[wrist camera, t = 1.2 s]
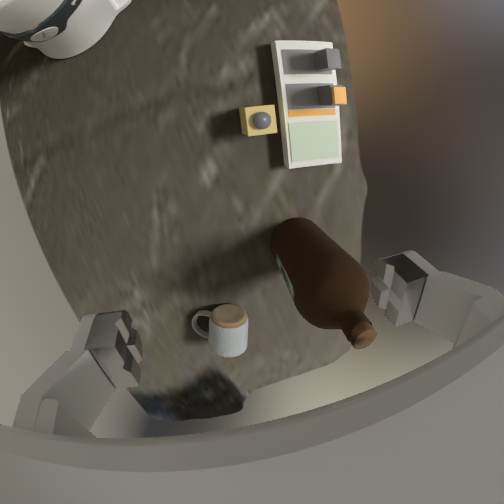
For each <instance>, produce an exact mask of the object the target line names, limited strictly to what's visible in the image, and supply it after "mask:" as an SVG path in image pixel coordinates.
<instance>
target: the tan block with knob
mask: <svg viewBox="0 0 504 504" xmlns="http://www.w3.org/2000/svg"><path fill="white" fill-rule="evenodd" d="M239 113H240V120H241V128H242V134H244V135H247V136H255V135H263V134H271V133H277V125H276V116H275V107H274V105H261V106H252V107H243V108H239Z"/></svg>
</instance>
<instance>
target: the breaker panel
mask: <svg viewBox="0 0 504 504" xmlns="http://www.w3.org/2000/svg"><path fill="white" fill-rule="evenodd" d="M325 48H332V49H333V46H332V42H318V41H274V42H273V43H271V50H272V58H273V66H274V74H275V82H276V90H277V99H278V108H279V117H280V127H281V137H282V147H283V158H284V166H286V167H287V168H289V169H291V168H299V167H307V166H315V165H324V164H333V163H342V158H341V133H340V116H339V106H325V105H320V103H319V92H318V86H325V85H337V80H336V70H331V71H316V64H315V56H314V52H316V51H319V50H322V49H325Z"/></svg>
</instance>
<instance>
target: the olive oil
mask: <svg viewBox="0 0 504 504" xmlns="http://www.w3.org/2000/svg"><path fill="white" fill-rule="evenodd" d="M271 251H272V254H273V256H274V258H275V260H276V262H277V264H278V267H279V269H280V271H281V273H282V275H283V278H284V280H285V282H286V284H287V287H288V289H289V292H290V294H291V296H292V299H293V301H294V304H295V306H296V308H297V310H298V311H299V313H300V314H301V315H302V317H303V318H305V319H306V320H307V321H308V322H309V323H311V324H312V325H314V326H316V327H319V328H323V329H342V331H343V332H344V334H345V336H346V338H347V340H348V341H350V342H351V344H352V346H353V347H354V348H355V349H362V348H365V347H366V346H368V345H370V344H371V343H372V342H373V341H374V339H375V338H376V335H377V332H376V330H375V329H374V328H373V327H372V323H371V322H370V321H369V319H368V318H367V317H366V316H365V314H364V310H365V307H366V304H367V301H368V298H369V282H368V279H367V276H366V274H365V271H364V270H363V268H362V267H361V265H360V264H359V263H358V262H357V261H356V260H355V259H354V258H353V257H351V256H350V255H349V254H348V253H347V252H346V251H345V250H343V249H342V248H341V247H340V246H339V245H338V244H337V243H336V242H334V241H333V240H332V239H331V238H330V237H329V236H328V235H327V234H325V233H324V232H323V231H322V230H321V229H320V228H319V227H318V226H317V225H316V224H315V223H313V222H312V221H310V220H308V219H306V218H293V219H290V220H287V221H286V222H284V223H282V224H281V225H280V226H279V227H278V228H277V229H276V231H275V232H274V234H273V236H272V239H271Z"/></svg>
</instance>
